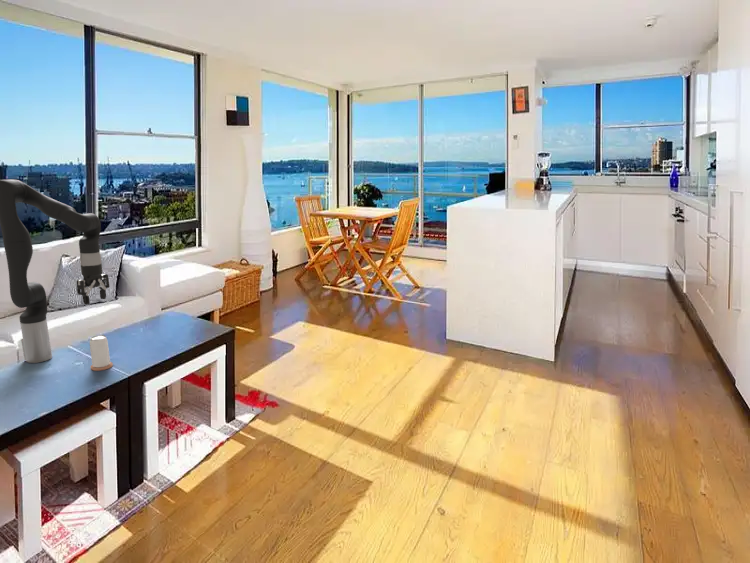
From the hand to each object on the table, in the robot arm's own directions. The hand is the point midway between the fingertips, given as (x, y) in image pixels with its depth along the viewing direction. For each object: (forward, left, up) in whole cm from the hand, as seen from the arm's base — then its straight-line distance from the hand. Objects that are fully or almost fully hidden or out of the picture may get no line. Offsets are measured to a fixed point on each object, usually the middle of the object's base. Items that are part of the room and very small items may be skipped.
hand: (95, 301), depth 207 cm
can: (+5, -6, -25) cm, 27 cm away
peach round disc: (+5, -6, -26) cm, 27 cm away
